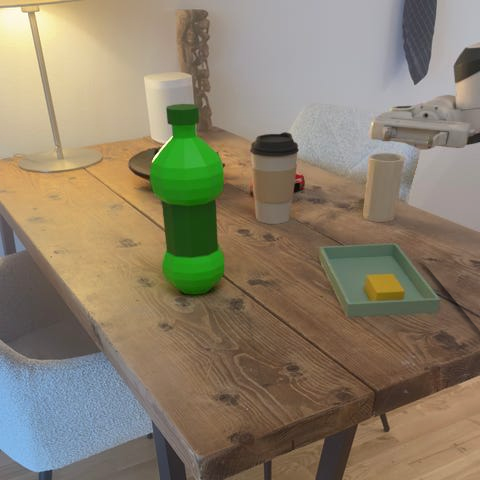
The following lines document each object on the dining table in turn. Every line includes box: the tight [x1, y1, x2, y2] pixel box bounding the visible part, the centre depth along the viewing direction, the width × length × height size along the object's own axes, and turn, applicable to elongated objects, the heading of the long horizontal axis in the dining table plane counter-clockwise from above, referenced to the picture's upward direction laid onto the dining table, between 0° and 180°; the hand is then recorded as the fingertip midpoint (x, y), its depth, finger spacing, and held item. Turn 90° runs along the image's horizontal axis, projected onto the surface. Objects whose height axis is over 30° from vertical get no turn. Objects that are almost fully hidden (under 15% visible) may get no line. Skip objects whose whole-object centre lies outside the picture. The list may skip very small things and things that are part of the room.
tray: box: [318, 242, 441, 318], centre depth 87 cm, size 21×13×3 cm, turn 4°
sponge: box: [364, 274, 405, 301], centre depth 82 cm, size 6×4×2 cm, turn 4°
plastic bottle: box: [149, 103, 226, 295], centre depth 81 cm, size 10×10×25 cm
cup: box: [362, 152, 405, 223], centre depth 109 cm, size 6×6×11 cm
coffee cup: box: [249, 131, 299, 225], centre depth 108 cm, size 9×9×15 cm
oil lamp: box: [127, 145, 226, 182], centre depth 130 cm, size 22×30×8 cm
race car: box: [249, 172, 306, 195], centre depth 125 cm, size 13×5×4 cm, turn 119°
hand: (408, 139), depth 113 cm, fingers open, 8 cm apart
